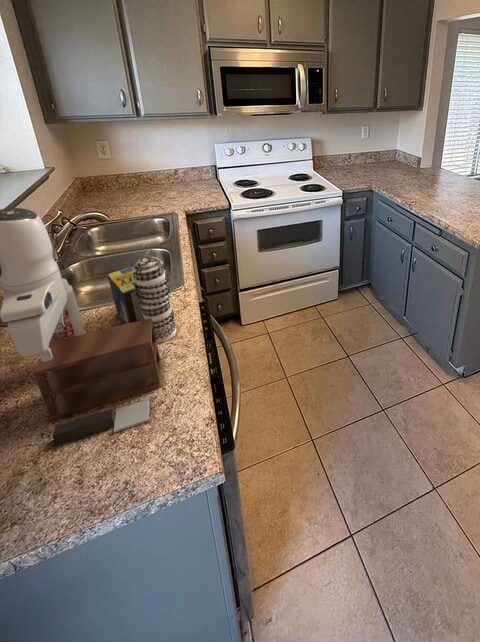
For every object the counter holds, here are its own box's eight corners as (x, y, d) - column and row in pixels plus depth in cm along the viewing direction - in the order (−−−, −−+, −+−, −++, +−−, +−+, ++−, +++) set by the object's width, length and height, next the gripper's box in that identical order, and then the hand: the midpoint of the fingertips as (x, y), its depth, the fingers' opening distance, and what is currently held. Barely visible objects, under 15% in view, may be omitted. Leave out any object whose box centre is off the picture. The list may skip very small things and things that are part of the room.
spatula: (53, 453, 74) (49, 443, 73) (60, 429, 79) (56, 419, 78) (149, 421, 81) (146, 411, 80) (149, 400, 86) (147, 391, 85)
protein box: (149, 301, 125) (141, 262, 119) (167, 321, 114) (159, 279, 109) (116, 315, 118) (106, 273, 113) (133, 337, 108) (122, 292, 102)
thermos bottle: (90, 367, 96) (62, 276, 87) (54, 377, 93) (22, 284, 84) (94, 348, 103) (69, 262, 94) (61, 357, 100) (32, 269, 90)
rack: (51, 420, 81) (33, 372, 76) (61, 388, 90) (45, 343, 85) (160, 386, 90) (150, 341, 85) (160, 360, 98) (151, 317, 94)
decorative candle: (182, 334, 108) (168, 261, 100) (149, 348, 103) (132, 272, 94) (173, 320, 115) (160, 250, 107) (142, 331, 110) (125, 259, 101)
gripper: (32, 267, 78) (49, 319, 83) (-5, 320, 61) (19, 383, 65) (66, 261, 81) (81, 312, 85) (40, 311, 63) (60, 372, 68)
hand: (54, 343), depth 75 cm, fingers open, 8 cm apart
